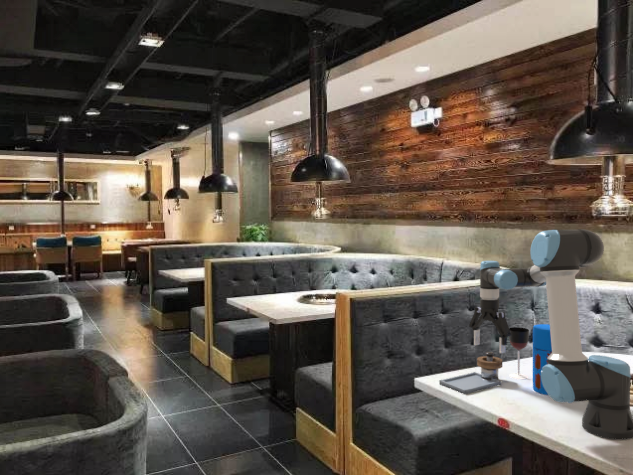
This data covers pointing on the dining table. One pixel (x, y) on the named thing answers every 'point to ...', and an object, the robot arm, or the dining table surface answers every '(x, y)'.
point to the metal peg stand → (489, 373)
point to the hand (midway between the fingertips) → (489, 348)
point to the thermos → (540, 354)
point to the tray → (469, 383)
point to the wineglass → (519, 346)
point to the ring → (489, 363)
